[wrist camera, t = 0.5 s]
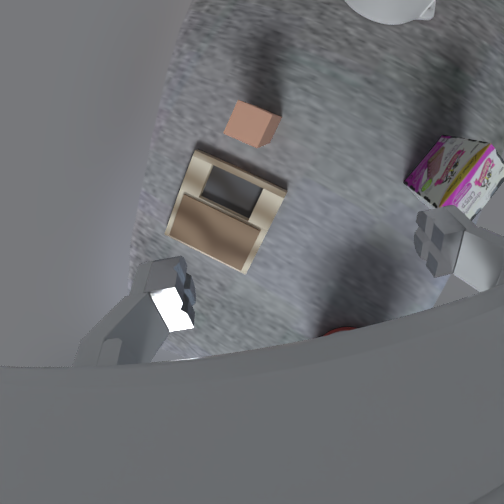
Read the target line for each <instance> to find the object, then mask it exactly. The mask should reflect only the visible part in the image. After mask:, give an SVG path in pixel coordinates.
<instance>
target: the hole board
mask: <svg viewBox="0 0 504 504" xmlns="http://www.w3.org/2000/svg"><path fill="white" fill-rule="evenodd" d="M286 193H287V190H285V189H283V188H281V187H278V186H276V185H274V184H272V183H270V182H268V181H266V180H264V179H262V178H260V177H258V176H256V175H254V174H251V173H249V172H247V171H245V170H243V169H241V168H239V167H236V166H234V165H232V164H230V163H228V162H225V161H223V160H221V159H219V158H217V157H214V156H212V155H210V154H208V153H205V152H203V151H201V150H195V151H194V154H193V157H192V159H191V162H190V164H189V167H188V170H187V172H186V175H185V177H184V180H183V183H182V186H181V188H180V191H179V194H178V197H177V199H176V202H175V205H174V208H173V211H172V214H171V217H170V219H169V222H168V225H167V228H166V231H165V235H167V236H169V237H171V238H173V239H175V240H177V241H179V242H181V243H183V244H185V245H187V246H189V247H191V248H193V249H195V250H197V251H199V252H201V253H203V254H205V255H207V256H209V257H211V258H213V259H215V260H217V261H219V262H221V263H223V264H225V265H227V266H229V267H231V268H233V269H235V270H237V271H239V272H241V273H243V274H245V275H246V273H247V271H248V269H249V267H250V265H251V263H252V261H253V259H254V257H255V255H256V253H257V251H258V249H259V247H260V245H261V243H262V241H263V239H264V237H265V235H266V233H267V231H268V229H269V227H270V225H271V223H272V221H273V219H274V217H275V215H276V213H277V211H278V209H279V207H280V205H281V203H282V201H283V199H284V197H285V195H286Z"/></svg>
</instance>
